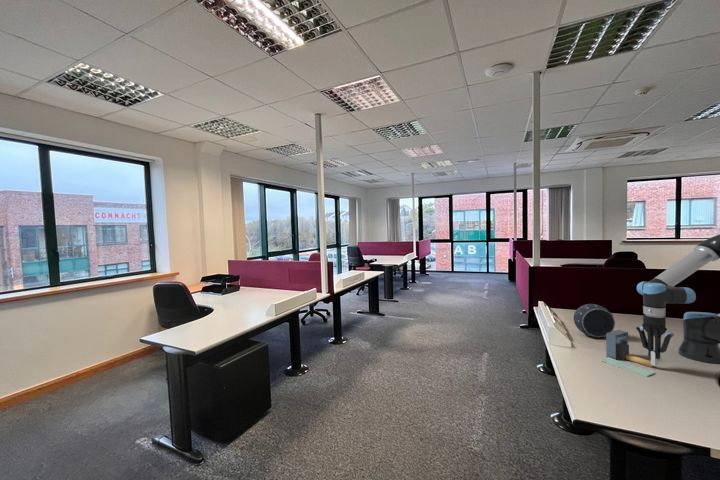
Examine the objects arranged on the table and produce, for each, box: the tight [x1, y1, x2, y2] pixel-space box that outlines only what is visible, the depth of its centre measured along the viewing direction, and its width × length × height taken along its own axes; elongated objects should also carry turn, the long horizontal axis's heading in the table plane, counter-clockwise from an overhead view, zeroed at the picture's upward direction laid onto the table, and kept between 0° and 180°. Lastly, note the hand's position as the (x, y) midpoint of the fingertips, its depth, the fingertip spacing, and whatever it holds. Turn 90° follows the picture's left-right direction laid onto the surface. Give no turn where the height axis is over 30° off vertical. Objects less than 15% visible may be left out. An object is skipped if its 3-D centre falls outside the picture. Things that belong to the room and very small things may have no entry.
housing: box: [605, 329, 629, 360], centre depth 152 cm, size 12×4×13 cm, turn 113°
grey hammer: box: [617, 341, 655, 368], centre depth 146 cm, size 5×16×7 cm, turn 24°
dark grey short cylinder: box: [573, 303, 616, 339], centre depth 181 cm, size 11×20×20 cm, turn 78°
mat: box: [599, 357, 656, 378], centre depth 140 cm, size 7×18×1 cm, turn 23°
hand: (654, 364), depth 138 cm, fingers closed
